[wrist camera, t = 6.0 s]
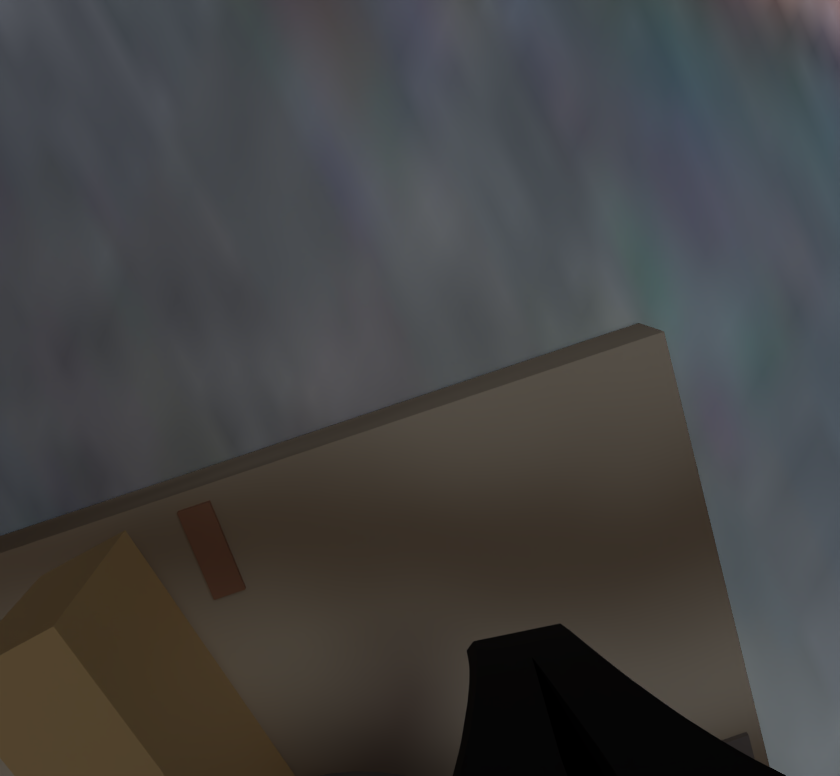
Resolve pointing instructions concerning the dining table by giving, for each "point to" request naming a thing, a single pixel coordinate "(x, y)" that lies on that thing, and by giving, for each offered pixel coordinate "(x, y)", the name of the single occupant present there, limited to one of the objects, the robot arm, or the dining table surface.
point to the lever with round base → (119, 681)
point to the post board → (441, 556)
